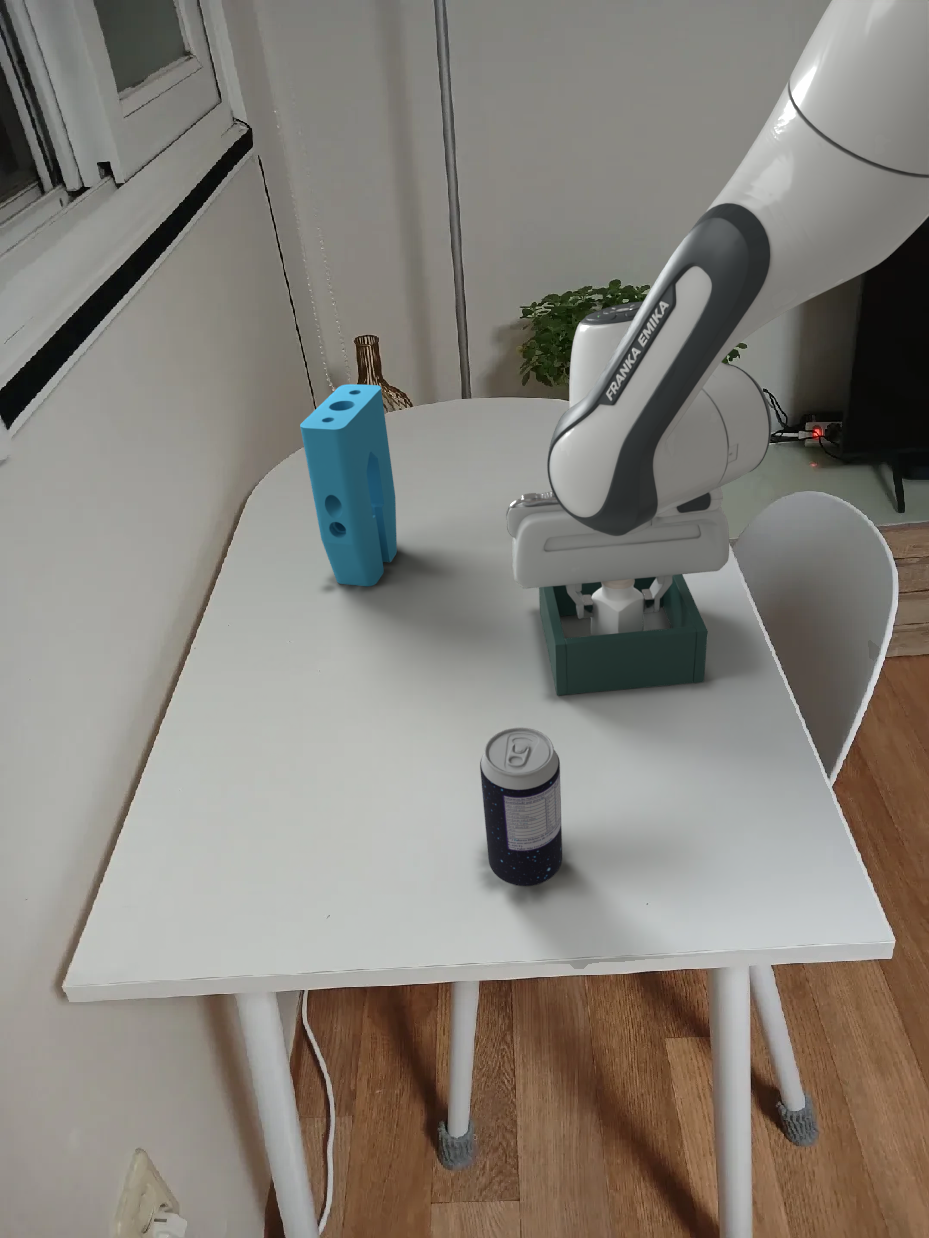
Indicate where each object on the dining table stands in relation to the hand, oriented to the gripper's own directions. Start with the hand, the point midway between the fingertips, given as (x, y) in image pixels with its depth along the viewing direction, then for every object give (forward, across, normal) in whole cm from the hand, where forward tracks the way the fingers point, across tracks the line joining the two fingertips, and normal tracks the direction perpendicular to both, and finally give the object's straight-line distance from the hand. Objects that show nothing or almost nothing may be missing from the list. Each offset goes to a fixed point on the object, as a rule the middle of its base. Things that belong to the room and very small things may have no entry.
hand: (617, 611), depth 94 cm
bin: (+4, 0, 0) cm, 4 cm away
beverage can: (+4, -12, -27) cm, 30 cm away
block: (+4, -26, +20) cm, 33 cm away
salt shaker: (+4, 0, 0) cm, 4 cm away
